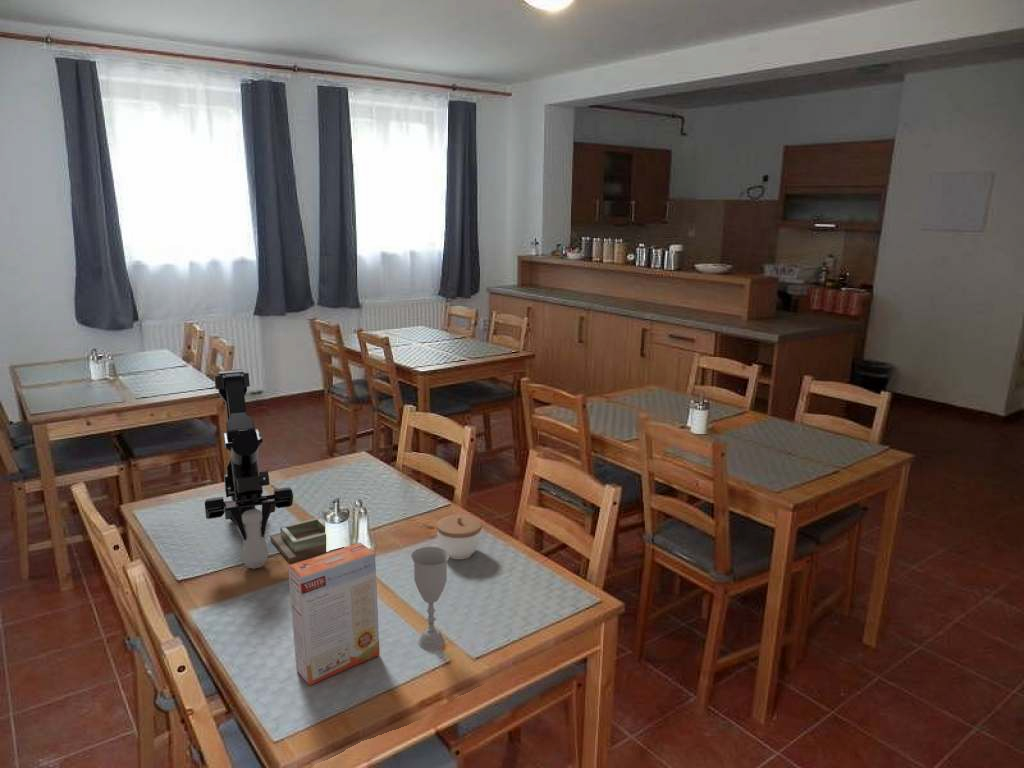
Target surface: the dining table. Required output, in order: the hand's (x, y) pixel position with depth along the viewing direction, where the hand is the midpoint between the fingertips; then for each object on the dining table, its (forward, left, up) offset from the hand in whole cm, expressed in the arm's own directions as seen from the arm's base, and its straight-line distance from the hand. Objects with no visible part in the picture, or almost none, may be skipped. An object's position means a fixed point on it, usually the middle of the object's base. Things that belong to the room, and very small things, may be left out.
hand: (254, 538), depth 155 cm
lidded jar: (+19, +42, -8) cm, 47 cm away
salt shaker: (-1, 0, -7) cm, 7 cm away
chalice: (+46, +19, -8) cm, 50 cm away
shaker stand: (-6, +14, -8) cm, 17 cm away
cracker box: (+42, +2, -8) cm, 43 cm away
